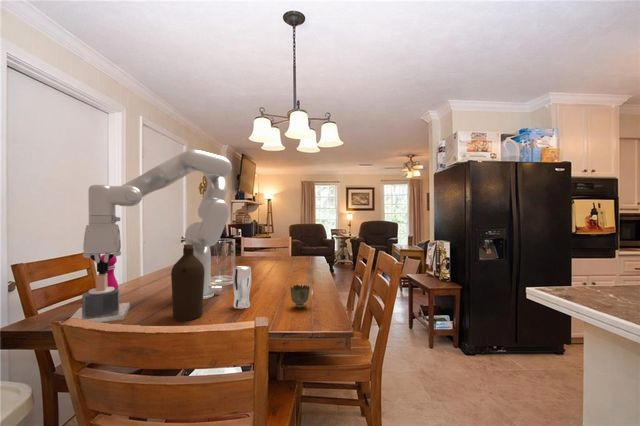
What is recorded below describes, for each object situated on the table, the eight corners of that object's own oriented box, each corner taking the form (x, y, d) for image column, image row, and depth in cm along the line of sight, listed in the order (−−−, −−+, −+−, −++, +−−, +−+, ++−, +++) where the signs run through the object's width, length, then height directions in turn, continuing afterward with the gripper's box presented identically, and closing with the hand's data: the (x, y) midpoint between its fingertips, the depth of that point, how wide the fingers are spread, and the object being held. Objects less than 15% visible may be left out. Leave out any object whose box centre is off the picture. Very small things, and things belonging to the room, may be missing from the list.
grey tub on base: (129, 306, 113) (129, 285, 113) (123, 319, 100) (123, 295, 100) (80, 311, 106) (80, 289, 106) (66, 326, 93) (66, 300, 93)
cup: (298, 303, 119) (298, 283, 119) (313, 306, 115) (313, 286, 115) (286, 307, 113) (286, 286, 113) (301, 311, 109) (301, 290, 109)
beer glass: (254, 305, 116) (255, 266, 116) (242, 310, 110) (243, 269, 110) (240, 302, 119) (240, 265, 119) (228, 307, 113) (228, 268, 112)
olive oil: (208, 317, 102) (209, 244, 102) (175, 324, 96) (175, 246, 96) (198, 309, 111) (199, 242, 110) (167, 315, 104) (168, 243, 104)
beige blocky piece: (115, 295, 108) (116, 272, 108) (112, 300, 102) (112, 276, 101) (91, 297, 105) (91, 273, 105) (86, 303, 98) (86, 277, 98)
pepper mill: (107, 301, 118) (107, 251, 118) (92, 300, 120) (92, 250, 120) (122, 296, 126) (122, 249, 125) (108, 295, 127) (108, 248, 127)
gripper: (129, 220, 110) (129, 269, 110) (78, 220, 103) (78, 273, 103) (126, 220, 103) (126, 273, 103) (71, 221, 96) (72, 278, 96)
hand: (102, 273), depth 103 cm, fingers closed
